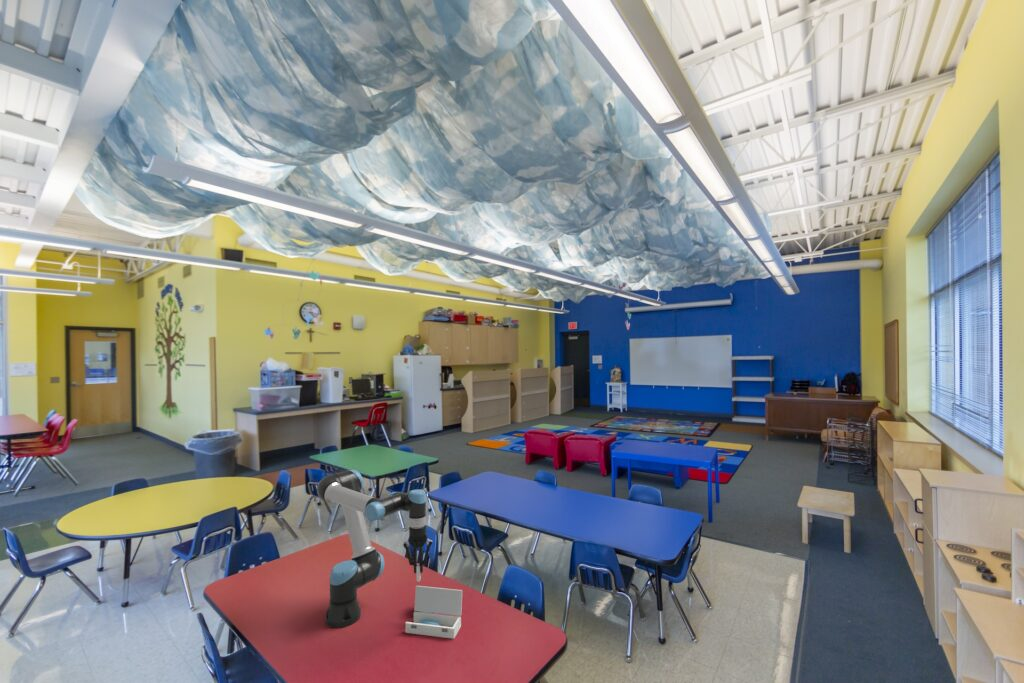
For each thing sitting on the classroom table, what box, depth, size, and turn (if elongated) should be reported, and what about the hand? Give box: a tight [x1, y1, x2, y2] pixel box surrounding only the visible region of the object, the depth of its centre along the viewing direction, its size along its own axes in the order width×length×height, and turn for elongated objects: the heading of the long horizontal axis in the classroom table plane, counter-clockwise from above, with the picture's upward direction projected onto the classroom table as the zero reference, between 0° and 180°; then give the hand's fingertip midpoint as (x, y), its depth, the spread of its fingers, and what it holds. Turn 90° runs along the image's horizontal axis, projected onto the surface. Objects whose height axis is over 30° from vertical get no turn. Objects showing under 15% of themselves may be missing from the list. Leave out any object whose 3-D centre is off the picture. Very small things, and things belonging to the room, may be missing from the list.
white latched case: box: [405, 611, 462, 640], centre depth 188 cm, size 22×10×4 cm, turn 78°
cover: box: [413, 585, 463, 617], centre depth 194 cm, size 22×10×1 cm
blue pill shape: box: [419, 620, 441, 626], centre depth 189 cm, size 10×3×3 cm, turn 74°
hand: (418, 580), depth 193 cm, fingers closed
